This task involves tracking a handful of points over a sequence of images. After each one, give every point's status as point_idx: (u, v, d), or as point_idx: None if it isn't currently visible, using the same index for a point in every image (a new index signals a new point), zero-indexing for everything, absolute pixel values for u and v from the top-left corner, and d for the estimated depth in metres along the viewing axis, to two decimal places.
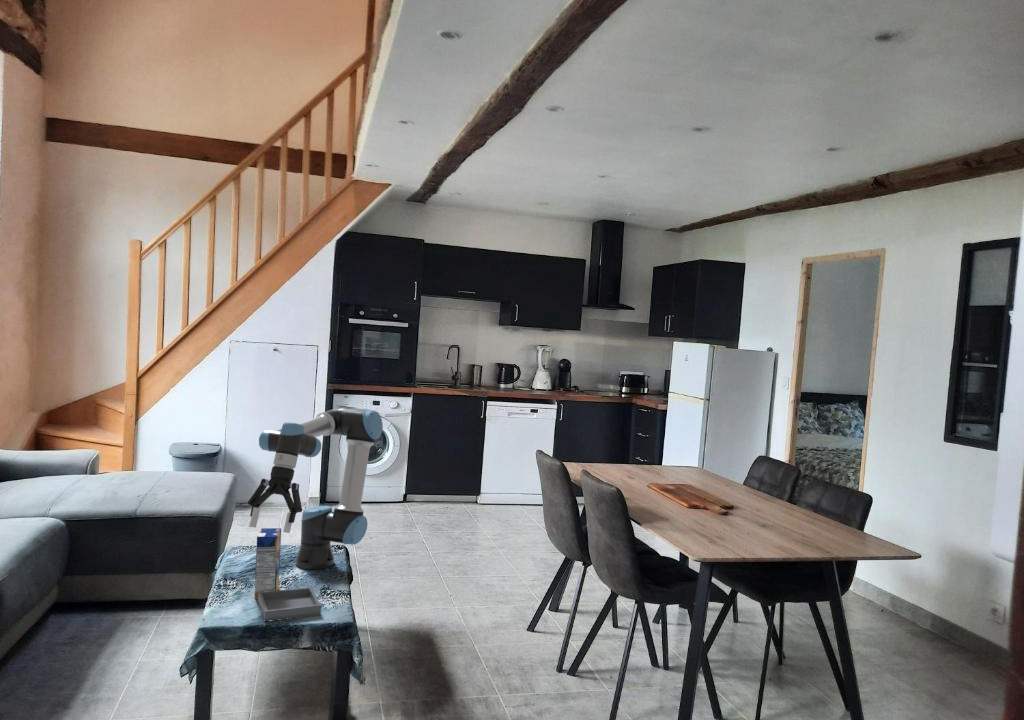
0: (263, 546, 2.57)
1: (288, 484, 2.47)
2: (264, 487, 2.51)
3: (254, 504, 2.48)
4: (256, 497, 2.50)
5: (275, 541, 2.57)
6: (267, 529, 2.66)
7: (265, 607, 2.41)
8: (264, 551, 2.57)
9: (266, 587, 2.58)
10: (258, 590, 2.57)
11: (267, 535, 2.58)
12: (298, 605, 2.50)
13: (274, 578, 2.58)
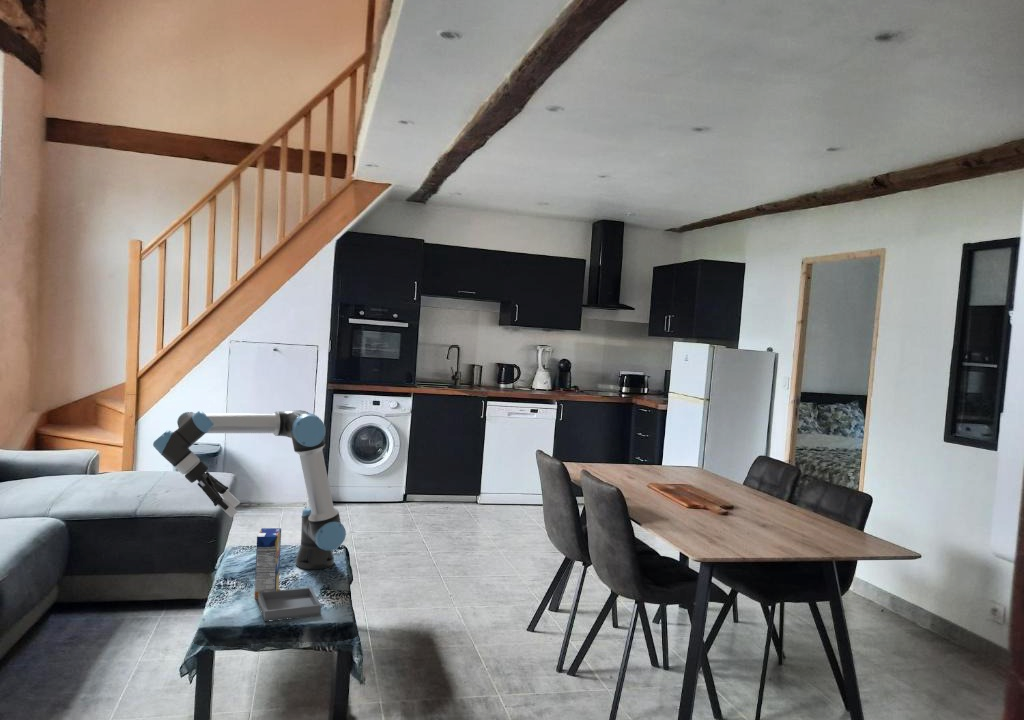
0: (263, 546, 2.57)
1: None
2: None
3: (220, 493, 2.66)
4: None
5: (275, 541, 2.57)
6: (267, 529, 2.66)
7: (265, 607, 2.41)
8: (264, 551, 2.57)
9: (265, 587, 2.58)
10: (258, 590, 2.57)
11: (267, 535, 2.58)
12: (298, 605, 2.50)
13: (274, 578, 2.58)
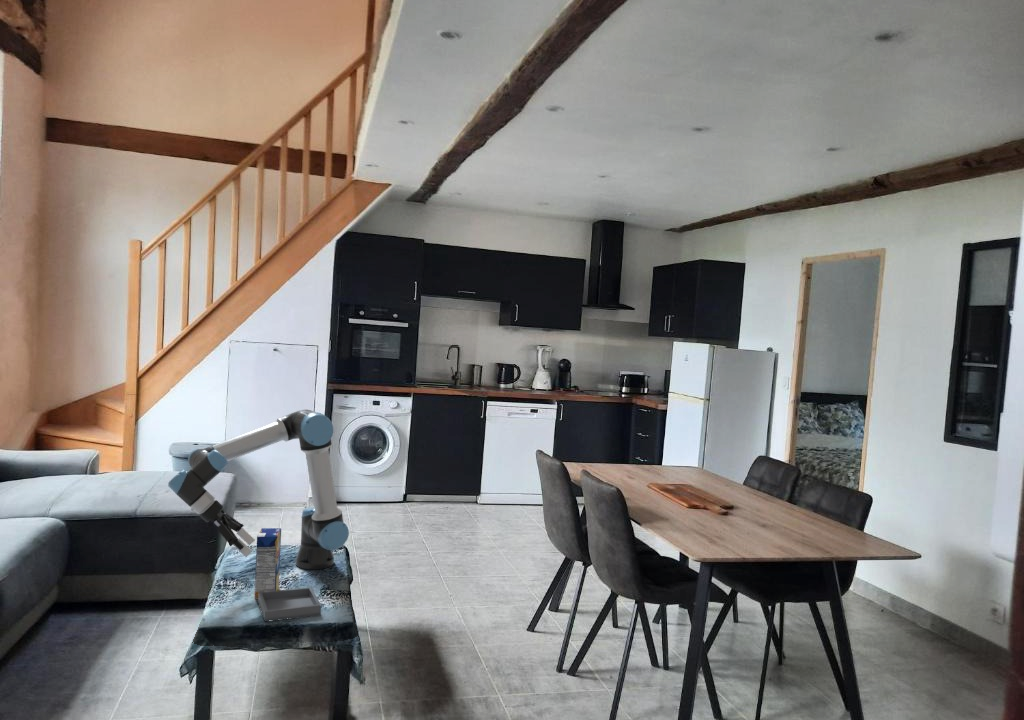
0: (263, 546, 2.57)
1: None
2: None
3: (235, 530, 2.65)
4: None
5: (275, 541, 2.57)
6: (267, 529, 2.66)
7: (265, 607, 2.41)
8: (264, 551, 2.57)
9: (266, 587, 2.58)
10: (258, 590, 2.57)
11: (267, 535, 2.58)
12: (298, 605, 2.50)
13: (274, 578, 2.58)
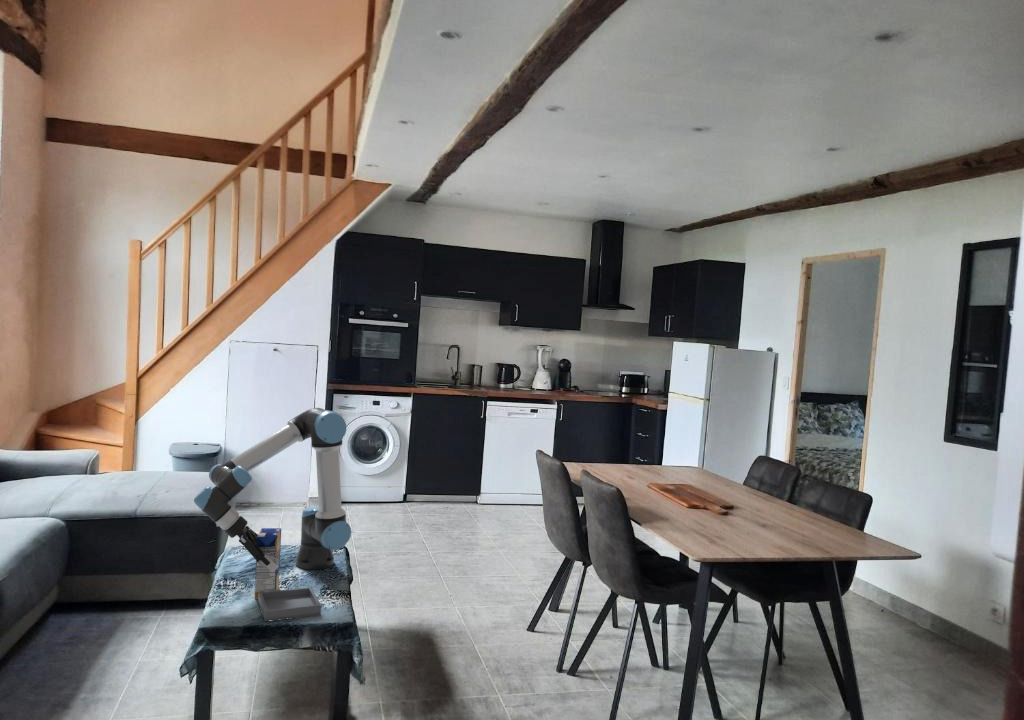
0: (263, 546, 2.57)
1: (240, 538, 2.56)
2: None
3: None
4: None
5: (275, 541, 2.57)
6: (267, 529, 2.66)
7: (265, 607, 2.41)
8: (264, 551, 2.57)
9: (266, 587, 2.58)
10: (258, 590, 2.57)
11: (267, 535, 2.58)
12: (298, 605, 2.50)
13: (274, 578, 2.58)
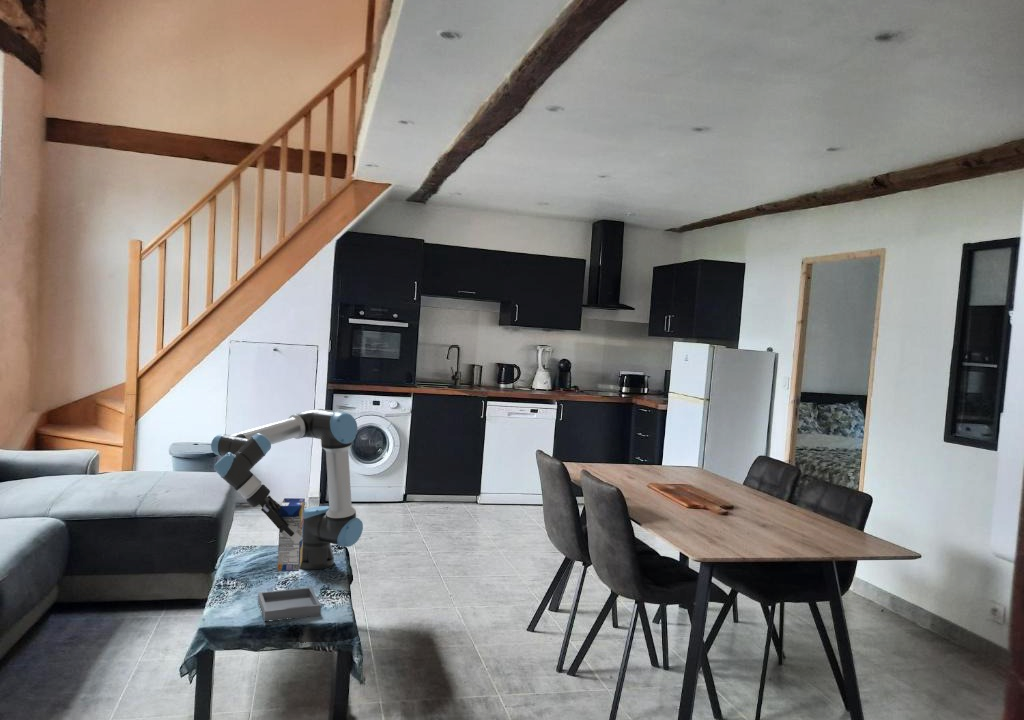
0: (287, 516, 2.43)
1: (263, 508, 2.42)
2: None
3: None
4: None
5: (299, 511, 2.43)
6: (290, 499, 2.52)
7: (265, 607, 2.41)
8: (287, 521, 2.43)
9: (289, 560, 2.43)
10: (281, 562, 2.43)
11: (290, 505, 2.44)
12: (298, 605, 2.50)
13: (298, 550, 2.44)
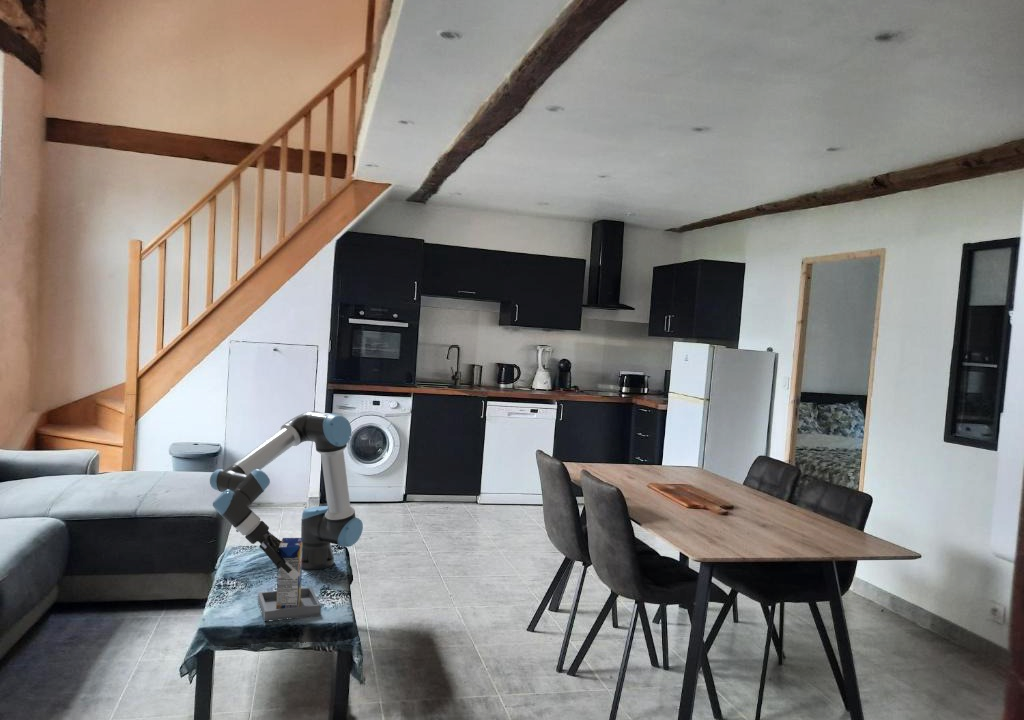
0: (285, 557, 2.43)
1: None
2: None
3: None
4: None
5: (298, 552, 2.44)
6: (288, 538, 2.52)
7: (265, 607, 2.41)
8: None
9: (288, 600, 2.44)
10: (280, 603, 2.44)
11: (289, 546, 2.44)
12: None
13: (297, 591, 2.44)
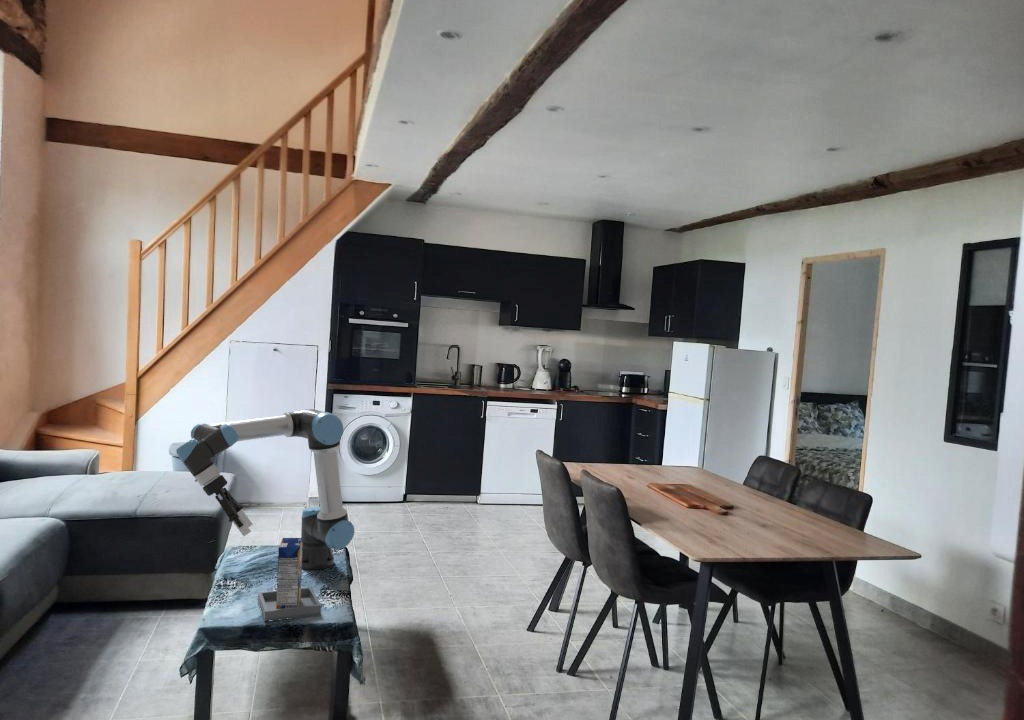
0: (285, 557, 2.43)
1: None
2: None
3: None
4: None
5: (298, 552, 2.44)
6: (288, 538, 2.52)
7: (265, 607, 2.41)
8: (286, 562, 2.43)
9: (288, 600, 2.44)
10: (280, 603, 2.44)
11: (289, 546, 2.44)
12: None
13: (297, 591, 2.44)
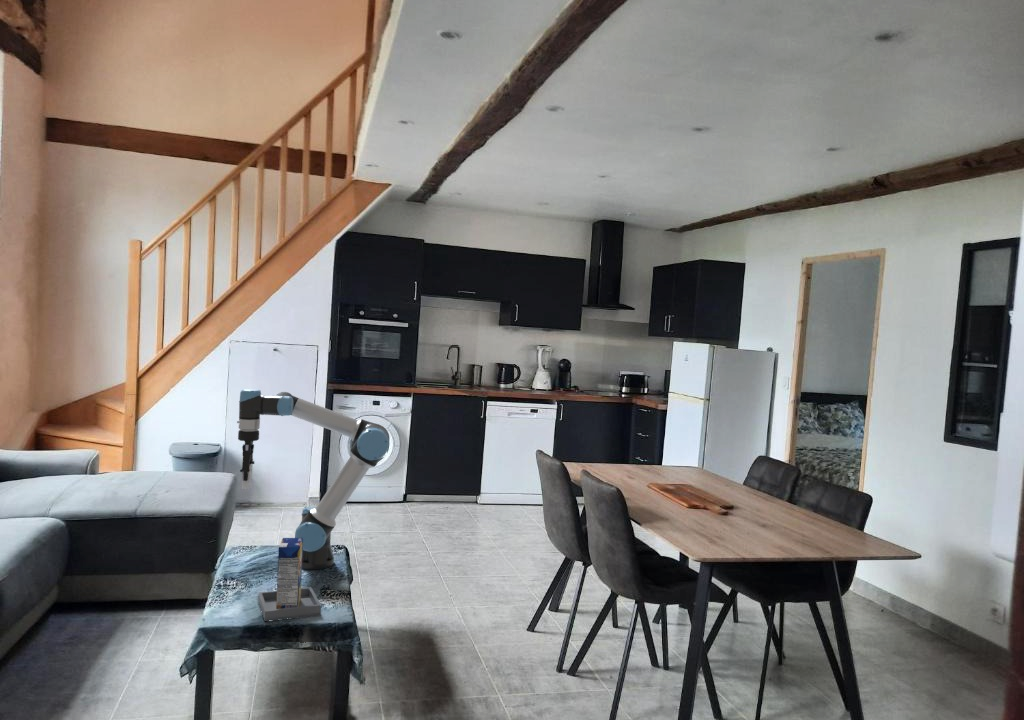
0: (285, 557, 2.43)
1: None
2: None
3: None
4: None
5: (298, 552, 2.44)
6: (288, 538, 2.52)
7: (265, 607, 2.41)
8: (286, 562, 2.43)
9: (288, 600, 2.44)
10: (280, 603, 2.44)
11: (289, 546, 2.44)
12: None
13: (297, 591, 2.44)
